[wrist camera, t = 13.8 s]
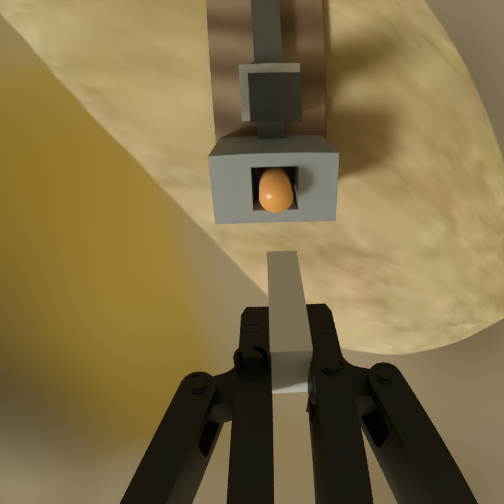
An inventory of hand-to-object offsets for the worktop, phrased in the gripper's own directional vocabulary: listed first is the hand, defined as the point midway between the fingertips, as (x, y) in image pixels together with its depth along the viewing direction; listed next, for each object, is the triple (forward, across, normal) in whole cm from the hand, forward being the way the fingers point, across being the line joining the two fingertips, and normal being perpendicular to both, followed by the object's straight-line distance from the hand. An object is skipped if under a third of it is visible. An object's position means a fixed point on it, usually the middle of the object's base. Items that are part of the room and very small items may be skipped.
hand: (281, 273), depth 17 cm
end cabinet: (+24, 0, -1) cm, 24 cm away
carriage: (+24, 0, +8) cm, 25 cm away
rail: (+24, 0, +14) cm, 27 cm away
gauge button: (+20, 0, -1) cm, 20 cm away
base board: (+24, 0, +10) cm, 26 cm away
